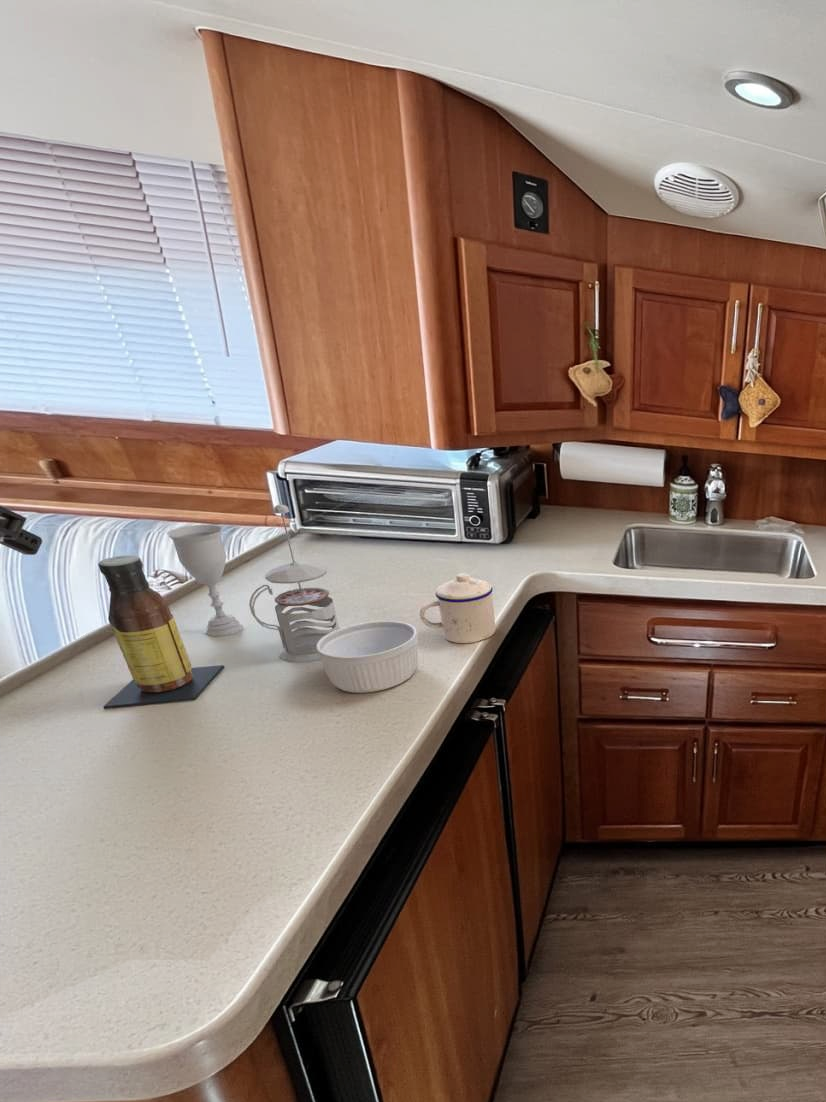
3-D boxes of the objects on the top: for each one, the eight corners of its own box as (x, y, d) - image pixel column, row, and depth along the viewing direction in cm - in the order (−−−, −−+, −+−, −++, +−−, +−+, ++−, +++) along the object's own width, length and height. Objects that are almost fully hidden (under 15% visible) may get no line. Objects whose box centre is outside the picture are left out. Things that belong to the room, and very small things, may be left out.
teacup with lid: (490, 619, 123) (484, 563, 118) (502, 638, 116) (496, 579, 112) (420, 632, 116) (410, 572, 111) (428, 652, 109) (418, 590, 105)
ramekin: (322, 668, 102) (313, 629, 99) (416, 650, 110) (410, 613, 107) (328, 707, 92) (318, 665, 90) (430, 684, 100) (423, 645, 97)
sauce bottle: (163, 672, 96) (119, 549, 89) (206, 674, 97) (167, 552, 89) (123, 695, 90) (72, 565, 83) (169, 697, 91) (124, 567, 83)
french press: (357, 650, 108) (327, 507, 98) (272, 671, 100) (229, 518, 90) (340, 630, 114) (310, 494, 104) (258, 649, 106) (217, 503, 96)
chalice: (197, 626, 111) (166, 528, 104) (247, 617, 116) (220, 522, 109) (199, 642, 106) (166, 540, 99) (251, 632, 111) (223, 534, 104)
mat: (103, 708, 88) (102, 706, 88) (142, 674, 96) (141, 671, 96) (195, 700, 91) (194, 697, 91) (224, 667, 100) (223, 664, 100)
